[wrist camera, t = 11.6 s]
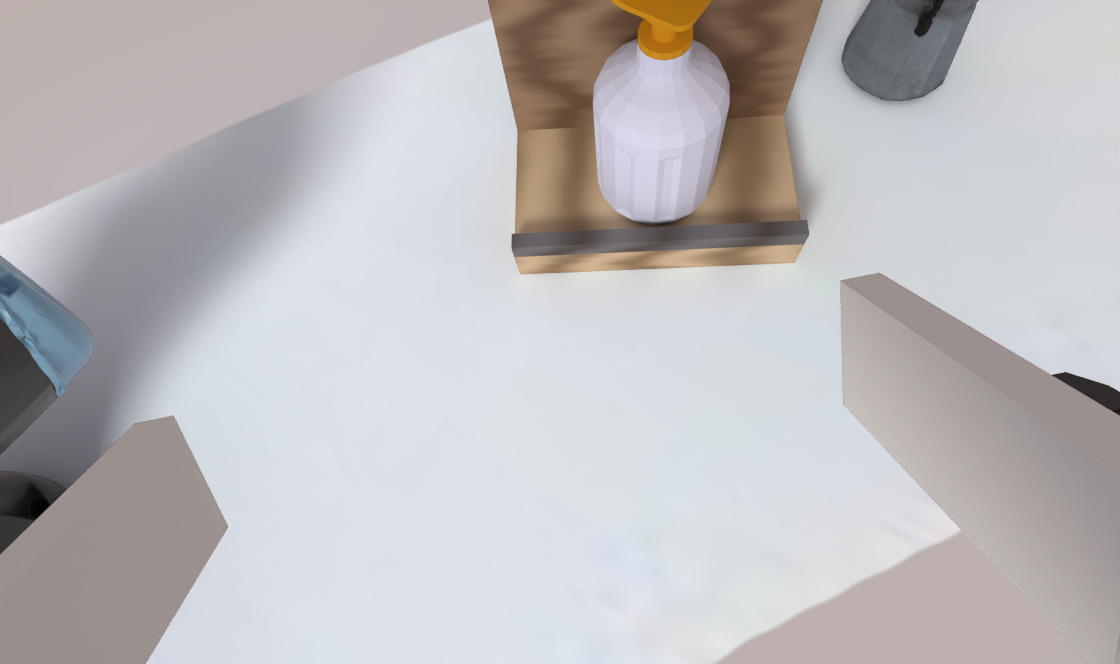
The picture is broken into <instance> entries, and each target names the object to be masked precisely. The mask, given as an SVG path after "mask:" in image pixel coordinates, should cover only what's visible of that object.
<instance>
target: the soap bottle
mask: <svg viewBox="0 0 1120 664" xmlns="http://www.w3.org/2000/svg"><path fill="white" fill-rule="evenodd" d="M612 1H613V3H614V4H615V5H617V6H618V7H620V8H621V9H623V10H625V11H628V12H630V13H632V14H635V15H637V16H640V17H642V18H644V20H643V21H642V22H641V24H640V26H639V28H638V38H637V39H635V40H633V41H631V42H628V43H626V44H624V45H622V46H621V47H620V48H619V49H617V50H616V51H615V52H614V53H613V54H612V55H611V56H610V57H608V58H607V60H606V62H605V64H604V66H603V68H602V70H601V72H600V74H599V76H598V78H597V80H596V82H595V84H594V95H593V113H594V128H595V144H596V160H597V175H598V184H599V186H600V189H601V192H602V195H603V197H604V199H605V200H606V201H607V202H608V203H609V204H610V205H611V207H612V208H613V209H614V210H615V211H616V212H617V213H619V214H621V215H623V216H625V217H627V218H628V219H630V220H632V221H635V222H641V223H646V224H652V225H655V224H662V223H670V222H674V221H676V220H679V219H681V218H683V217H685V216H687V215H689V214H691V213H692V212H693V211H694V210H695V209H696V208H697V207H698V206H699V205H700V204H701V203H702V202H703V201H704V200H705V199H706V197H707V195H708V192H709V190H710V188H711V185H712V183H713V178H714V174H715V169H716V164H717V160H718V155H719V151H720V146H721V141H722V137H723V132H724V127H725V123H726V118H727V114H728V109H729V104H730V89H729V81H728V78H727V75H726V73H725V71H724V69H723V67H722V65H721V63H720V61H719V58H718V57H717V56H716V55H715V54H714V53H713V52H711V51H710V50H709V49H708V48H707V47H706V46H705V45H704V44H701V43H699V42H697V41H694V40H693V25H694V23H695V22H696V21H697V20H698V18H699V17H700V16H701V14H702V13H703V12H704V10H705V9H706V8H707V6H708V5H709V4H710V2H711V1H712V0H612Z"/></svg>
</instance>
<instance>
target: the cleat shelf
mask: <svg viewBox="0 0 1120 664" xmlns="http://www.w3.org/2000/svg"><path fill="white" fill-rule="evenodd" d="M822 1H823V0H712V1H711V2H710V4H709V5H708V6H707V8H706V9H705V10H704V12H703V13H702V14H701V16H700V17H699V18H698V20H697V21H696V22H695V23H694V25H693V40H694V41H697V42H699V43H701V44H704V45H705V46H706V47H707V48H708V49H709V50H710V51H711V52H713V53H714V54H715V55H716V56H717V57H718V58H719V61H720V63H721V65H722V67H723V69H724V71H725V73H726V75H727V78H728V81H729V89H730V104H729V109H728V114H727V118H726V123H725V127H724V132H723V137H722V141H721V146H720V151H719V155H718V160H717V164H716V169H715V174H714V178H713V183H712V185H711V188H710V190H709V192H708V195H707V197H706V199H705V200H704V201H703V202H702V203H701V204H700V205H699V206H698V207H697V208H696V209H695V210H694V211H693V212H692V213H691V214H689V215H687V216H685V217H683V218H681V219H679V220H676V221H674V222H670V223H662V224H655V225H652V224H646V223H641V222H635V221H632V220H630V219H628V218H627V217H625V216H623V215H621V214H619V213H617V212H616V211H615V210H614V209H613V208H612V207H611V205H610V204H609V203H608V202H607V201H606V200H605V199H604V197H603V195H602V192H601V189H600V186H599V184H598V175H597V160H596V144H595V128H594V113H593V95H594V84H595V82H596V80H597V78H598V76H599V74H600V72H601V70H602V68H603V66H604V64H605V62H606V60H607V58H608V57H610V56H611V55H612V54H613V53H614V52H615V51H616V50H617V49H619V48H620V47H621V46H622V45H624V44H626V43H628V42H631V41H633V40H635V39H637V38H638V28H639V26H640V24H641V22H642V21H643V20H644V18H642V17H640V16H637V15H635V14H632V13H630V12H628V11H625V10H623V9H621V8H620V7H618V6H617V5H615V4H614V3H613V1H612V0H488V3H489V7H490V12H491V16H492V21H493V25H494V29H495V34H496V38H497V43H498V47H499V51H500V56H501V60H502V64H503V69H504V73H505V77H506V82H507V86H508V91H509V95H510V99H511V104H512V108H513V112H514V117H515V121H516V126H517V130H518V141H517V180H516V219H515V234H512V251H513V254H514V257H515V260H516V263H517V266H518V269H519V272H520V274H537V273H561V272H585V271H609V270H632V269H656V268H680V267H704V266H728V265H752V264H775V263H794V262H795V260H796V259H797V257H798V255H799V253H800V251H801V249H802V247H803V245H804V243H805V241H806V240H807V238H808V236H809V230H808V224H807V220H800V216H799V209H798V203H797V196H796V190H795V184H794V177H793V171H792V164H791V158H790V152H789V145H788V139H787V132H786V126H785V119H784V113H785V110H786V107H787V104H788V101H789V98H790V95H791V92H792V90H793V87H794V84H795V81H796V78H797V75H798V72H799V69H800V66H801V63H802V60H803V57H804V54H805V51H806V48H807V45H808V42H809V40H810V37H811V34H812V31H813V28H814V25H815V22H816V19H817V16H818V13H819V10H820V7H821V4H822Z"/></svg>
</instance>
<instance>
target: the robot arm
mask: <svg viewBox="0 0 1120 664" xmlns="http://www.w3.org/2000/svg"><path fill="white" fill-rule="evenodd" d="M840 299H841V344H842V388H843V405H844V406H845V407H846V408H847V409H848V410H849V411H850V412H851V413H852V415H853V416H854V417H855V418H856V419H857V420H858V421H859V422H860V423H861V424H862V425H863V426H864V427H865V428H866V429H867V430H868V432H869V433H870V434H871V435H872V436H873V437H874V438H875V439H876V440H877V441H878V442H879V443H880V444H881V445H882V446H883V447H884V449H885V450H886V451H887V452H888V453H889V454H890V455H891V456H892V457H893V458H894V459H895V460H896V461H897V462H898V463H899V464H900V466H901V467H902V468H903V469H904V470H905V471H906V472H907V473H908V474H909V475H910V476H911V477H912V478H913V479H914V480H915V481H916V483H917V484H918V485H919V486H920V487H921V488H922V489H923V490H924V491H925V492H926V493H927V494H928V495H929V496H930V497H931V498H932V500H933V501H934V502H935V503H936V504H937V505H938V506H939V507H940V508H941V509H942V510H943V511H944V512H945V513H946V514H947V515H948V517H949V518H950V519H951V520H952V521H953V522H954V523H955V524H956V525H957V526H958V527H959V528H960V529H961V530H962V531H963V532H964V534H965V535H966V536H967V537H968V538H969V539H970V540H971V541H972V542H973V543H974V544H975V545H976V546H977V547H978V548H979V549H980V551H981V552H982V553H983V554H984V555H985V556H986V557H987V558H988V559H989V560H990V561H991V562H992V563H993V564H994V565H995V566H996V568H997V569H998V570H999V571H1000V572H1001V573H1002V574H1003V575H1004V576H1005V577H1006V578H1007V579H1008V580H1009V581H1010V582H1011V583H1012V584H1013V586H1014V587H1015V588H1016V589H1017V590H1018V591H1019V592H1020V593H1021V594H1022V595H1023V596H1024V597H1025V598H1026V599H1027V600H1028V602H1029V603H1030V604H1031V605H1032V606H1033V607H1034V608H1035V609H1036V610H1037V611H1038V612H1039V613H1040V614H1041V615H1042V616H1043V617H1044V618H1045V619H1046V621H1047V622H1049V624H1050V625H1051V626H1052V627H1053V628H1054V629H1055V630H1056V631H1057V632H1058V633H1059V635H1060V636H1061V637H1063V639H1064V640H1065V641H1066V642H1067V643H1068V644H1069V645H1070V646H1071V647H1072V648H1073V649H1074V650H1075V651H1076V653H1077V654H1078V655H1079V656H1080V657H1081V658H1082V659H1083V660H1084V661H1085V662H1086V663H1087V664H1120V392H1119V391H1117V390H1116V389H1114V388H1112V387H1110V386H1108V385H1105V384H1102V383H1099V382H1095V381H1092V380H1089V379H1086V378H1083V377H1079V376H1076V375H1073V374H1070V373H1067V372H1064V373H1059V374H1054V375H1050V374H1049V373H1047V372H1045V371H1044V370H1042V369H1040V368H1039V367H1037V366H1035V365H1034V364H1032V363H1030V362H1029V361H1027V360H1025V359H1024V358H1022V357H1020V356H1018V355H1017V354H1015V353H1013V352H1012V351H1010V350H1008V349H1007V348H1005V347H1003V346H1002V345H1000V344H998V343H997V342H995V341H993V340H992V339H990V338H988V337H987V336H985V335H983V334H982V333H980V332H978V331H977V330H975V329H973V328H972V327H970V326H968V325H966V324H965V323H963V322H961V321H960V320H958V319H956V318H955V317H953V316H951V315H950V314H948V313H946V312H945V311H943V310H941V309H940V308H938V307H936V306H935V305H933V304H931V303H930V302H928V301H926V300H925V299H923V298H921V297H919V296H918V295H916V294H914V293H913V292H911V291H909V290H908V289H906V288H904V287H903V286H901V285H899V284H898V283H896V282H894V281H893V280H891V279H889V278H888V277H886V276H884V275H883V274H881V273H876V274H871V275H866V276H861V277H856V278H851V279H846V280H841V281H840ZM93 350H94V338H93V335H92V333H91V331H90V330H89V328H88V327H87V326H86V325H85V324H84V323H83V322H82V321H81V320H80V319H79V318H78V317H77V316H75V315H74V314H73V313H72V312H71V311H70V310H68V309H67V308H66V307H65V306H64V305H62V304H61V303H60V302H59V301H58V300H56V299H55V298H54V297H53V296H51V295H50V294H49V293H48V292H46V291H45V290H44V289H43V288H41V287H40V286H39V285H38V284H36V283H35V282H34V281H33V280H31V279H30V278H29V277H28V276H26V275H25V274H24V273H22V272H21V271H20V270H19V269H17V268H16V267H15V266H13V265H12V264H11V263H10V262H8V261H7V260H6V259H4V258H3V257H2V256H0V455H1V454H2V453H3V452H4V451H5V450H6V449H7V448H8V447H9V446H10V445H11V444H12V443H13V442H14V441H15V440H16V439H17V438H18V437H19V436H20V435H21V434H22V433H23V432H24V431H25V430H26V429H27V428H28V427H29V426H30V425H31V424H32V423H33V422H34V421H35V420H36V419H37V418H38V417H39V416H40V415H41V414H42V413H43V412H44V411H45V410H46V409H47V408H48V407H49V406H50V405H51V404H52V403H53V402H54V401H55V400H56V399H57V398H60V397H61V396H62V395H63V394H64V392H65V387H66V386H67V385H68V383H69V382H70V381H71V380H72V379H73V378H74V376H75V375H76V374H77V373H78V372H79V371H80V369H81V368H82V367H83V366H84V365H85V364H86V362H87V361H88V360H89V359H90V357H91V356H92V353H93ZM227 528H228V525H227V523H226V521H225V519H224V517H223V515H222V513H221V511H220V509H219V507H218V505H217V503H216V501H215V499H214V497H213V495H212V493H211V491H210V489H209V487H208V485H207V483H206V481H205V479H204V477H203V475H202V472H201V470H200V468H199V466H198V464H197V462H196V460H195V458H194V456H193V454H192V452H191V450H190V448H189V446H188V444H187V442H186V440H185V438H184V436H183V434H182V432H181V430H180V428H179V426H178V424H177V422H176V420H175V418H174V416H169V417H164V418H159V419H154V420H149V421H144V422H139V423H135V424H134V425H133V426H132V427H131V428H130V429H129V430H128V431H127V432H126V433H125V434H124V435H123V436H122V437H121V438H120V439H119V440H118V441H117V442H116V443H114V444H113V445H112V446H111V447H110V448H109V449H108V450H107V451H106V452H105V453H104V454H103V455H102V456H101V457H100V458H99V459H98V460H97V461H96V462H95V463H94V464H93V465H92V466H91V467H90V468H89V469H88V470H87V471H86V472H85V473H84V474H83V475H82V476H81V477H80V478H79V479H78V480H76V481H75V482H74V483H73V484H72V485H71V486H70V487H69V488H68V489H67V490H65V489H64V488H63V487H61V486H60V485H58V484H57V483H55V482H53V481H51V480H48V479H46V478H42V477H39V476H34V475H28V474H23V473H18V472H12V471H0V664H146V662H147V660H148V659H149V657H150V656H151V654H152V652H153V651H154V649H155V647H156V646H157V644H158V642H159V641H160V639H161V637H162V636H163V634H164V632H165V631H166V629H167V627H168V626H169V624H170V622H171V621H172V619H173V617H174V616H175V614H176V613H177V611H178V609H179V608H180V606H181V604H182V603H183V601H184V599H185V598H186V596H187V594H188V593H189V591H190V589H191V588H192V586H193V584H194V583H195V581H196V579H197V578H198V576H199V574H200V573H201V571H202V570H203V568H204V566H205V565H206V563H207V561H208V560H209V558H210V556H211V555H212V553H213V551H214V550H215V548H216V546H217V545H218V543H219V541H220V540H221V538H222V536H223V535H224V533H225V532H226V530H227Z"/></svg>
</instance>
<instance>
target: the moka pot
mask: <svg viewBox="0 0 1120 664" xmlns="http://www.w3.org/2000/svg"><path fill="white" fill-rule="evenodd" d="M978 1H979V0H871V1H870V3H869V4H868V6H867V8H866V9H865V11H864V13H863V14H862V16H861V17H860V19H859V21H858V22H857V24H856V26H855V27H854V29H853V30H852V32H851V34H850V35H849V37H848V39H847V41H846V44H845V47H844V51H843V54H842V63H843V67H844V70H845V72H846V74H847V75H848V76H849V78H850V79H851V80H852V81H853V82H854V83H855V84H856V85H857V86H858V87H860V88H861V89H862V90H864V91H866V92H868V93H870V94H872V95H874V96H876V97H879V98H881V99H883V100H890V101H897V100H898V101H903V100H911V99H915V98H920V97H923V96H925V95H927V94H928V93H930V92H932V91H933V90H935V89H936V88H937V87H939V86H940V85H941V84H943V81H944V79H945V77H946V75H947V73H948V70H949V68H950V66H951V63H952V61H953V59H954V57H955V54H956V52H957V49H958V47H959V45H960V43H961V41H962V38H963V36H964V33H965V31H966V28H967V26H968V24H969V21H970V19H971V17H972V14H973V12H974V10H975V7H976V3H977V2H978Z"/></svg>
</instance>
